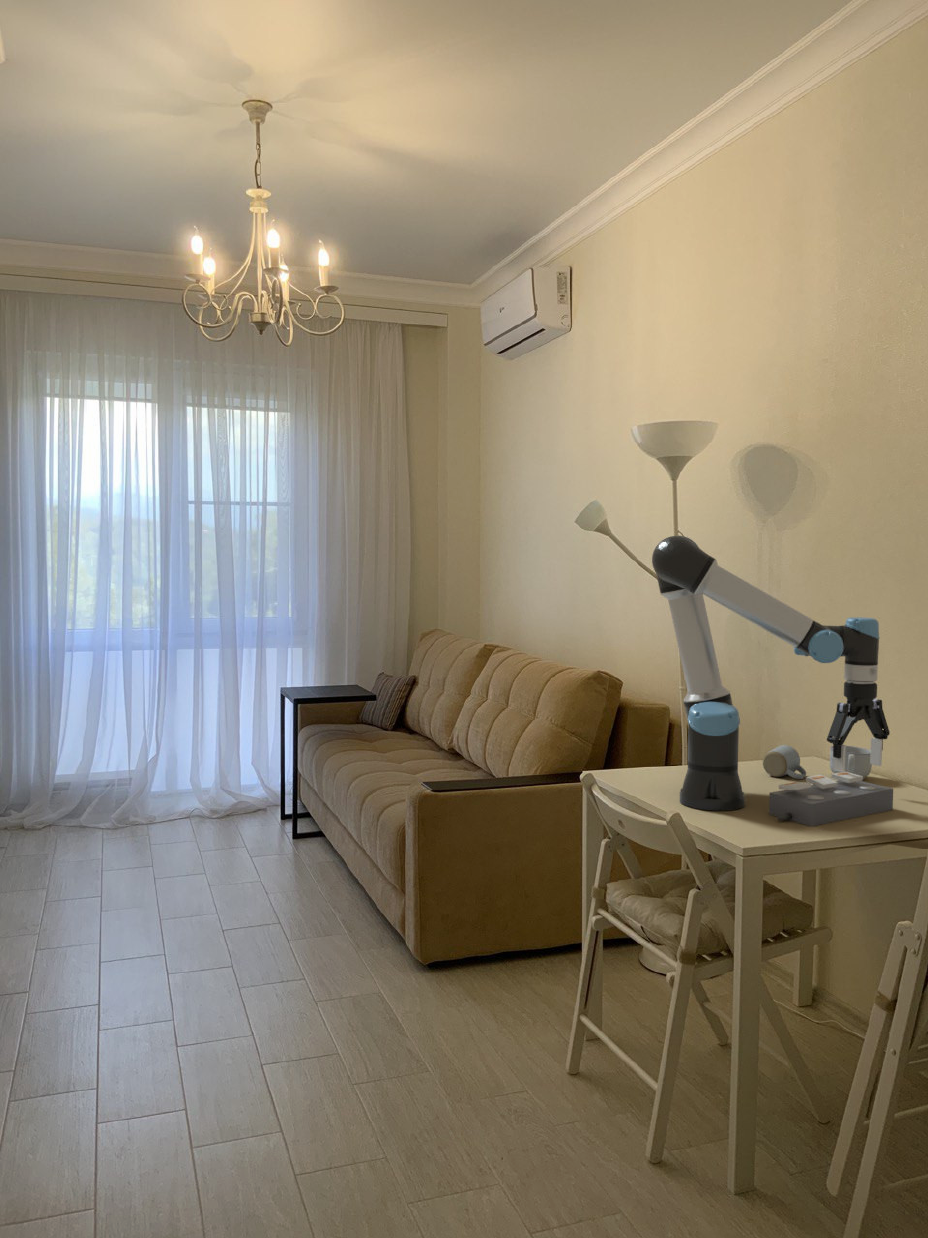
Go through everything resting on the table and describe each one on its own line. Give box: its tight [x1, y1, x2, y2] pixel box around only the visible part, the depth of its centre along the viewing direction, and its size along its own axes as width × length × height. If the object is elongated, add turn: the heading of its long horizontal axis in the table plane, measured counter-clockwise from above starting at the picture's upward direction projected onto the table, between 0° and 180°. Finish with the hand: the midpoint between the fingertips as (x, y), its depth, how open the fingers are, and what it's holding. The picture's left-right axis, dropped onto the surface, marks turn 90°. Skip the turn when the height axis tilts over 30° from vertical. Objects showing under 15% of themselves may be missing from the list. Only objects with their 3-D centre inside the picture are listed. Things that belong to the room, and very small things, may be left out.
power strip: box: [768, 780, 894, 827], centre depth 235 cm, size 32×12×5 cm, turn 121°
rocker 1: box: [778, 781, 812, 791], centre depth 234 cm, size 5×5×1 cm
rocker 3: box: [830, 772, 864, 783], centre depth 243 cm, size 5×5×1 cm
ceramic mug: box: [762, 744, 807, 780], centre depth 273 cm, size 11×8×8 cm
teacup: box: [829, 745, 873, 780], centre depth 270 cm, size 14×11×8 cm
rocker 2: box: [805, 774, 838, 789], centre depth 239 cm, size 5×5×1 cm
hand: (857, 768), depth 249 cm, fingers open, 13 cm apart
